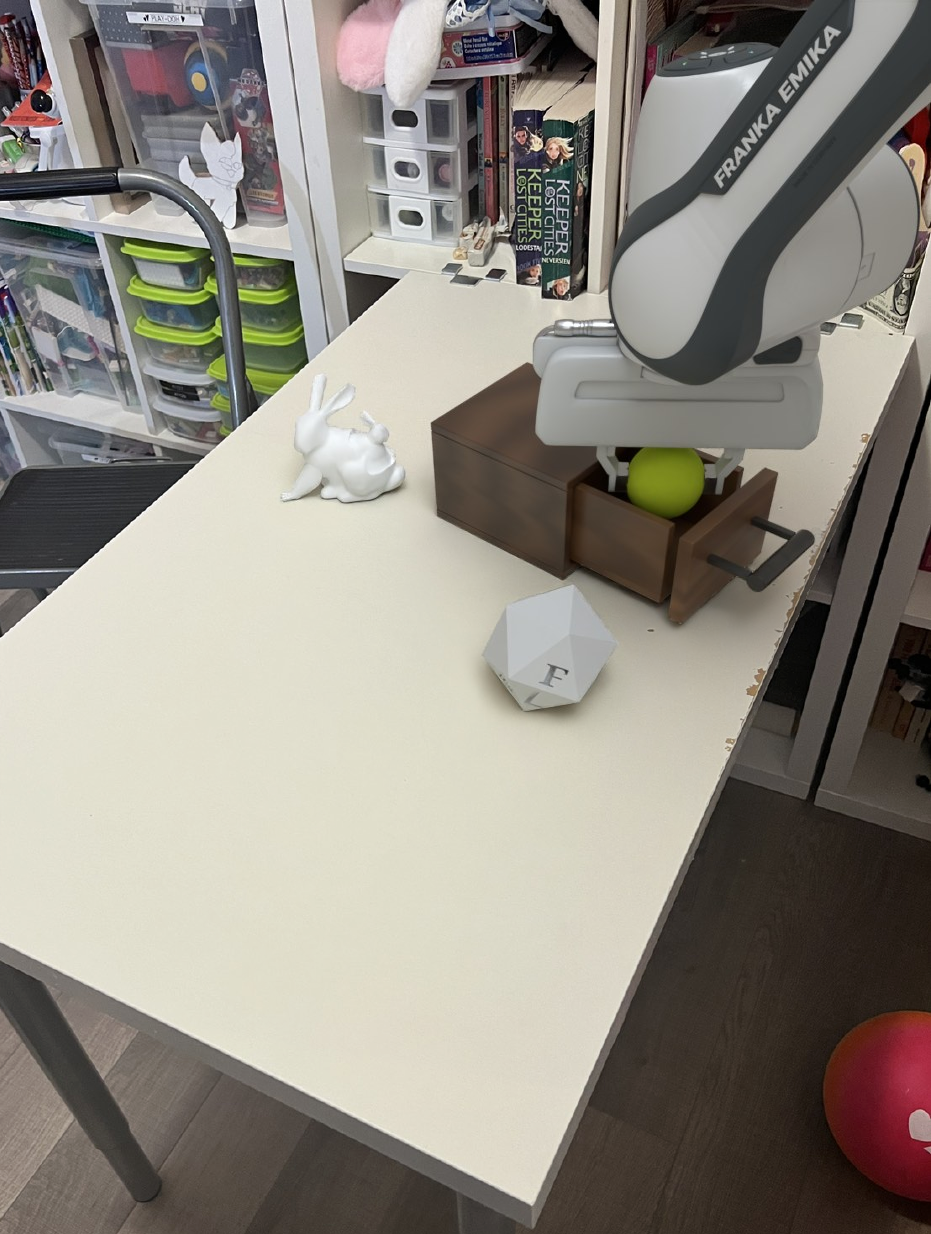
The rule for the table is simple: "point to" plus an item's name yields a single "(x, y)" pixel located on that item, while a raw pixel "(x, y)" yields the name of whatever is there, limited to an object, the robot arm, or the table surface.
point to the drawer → (681, 538)
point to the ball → (665, 480)
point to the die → (549, 648)
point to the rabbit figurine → (342, 452)
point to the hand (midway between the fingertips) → (664, 489)
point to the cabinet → (509, 473)
